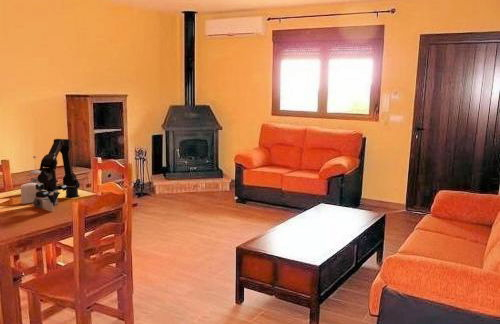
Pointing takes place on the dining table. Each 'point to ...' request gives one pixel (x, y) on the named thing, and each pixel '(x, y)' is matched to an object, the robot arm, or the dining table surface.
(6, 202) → the dining table surface
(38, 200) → the camera body
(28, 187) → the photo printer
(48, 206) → the side door
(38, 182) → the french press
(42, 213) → the dining table surface
